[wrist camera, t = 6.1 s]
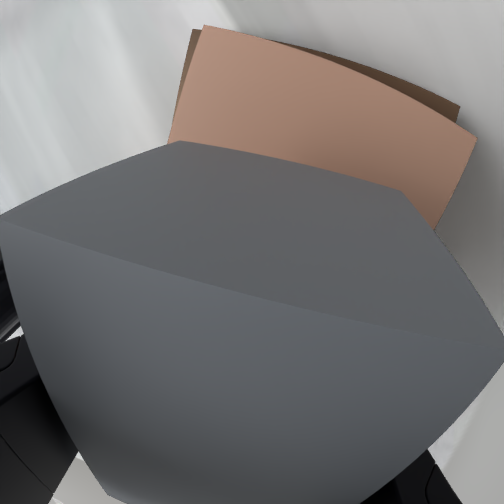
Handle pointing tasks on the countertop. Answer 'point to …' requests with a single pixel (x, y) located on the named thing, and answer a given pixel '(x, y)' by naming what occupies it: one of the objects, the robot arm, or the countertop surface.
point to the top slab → (318, 118)
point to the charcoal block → (244, 327)
